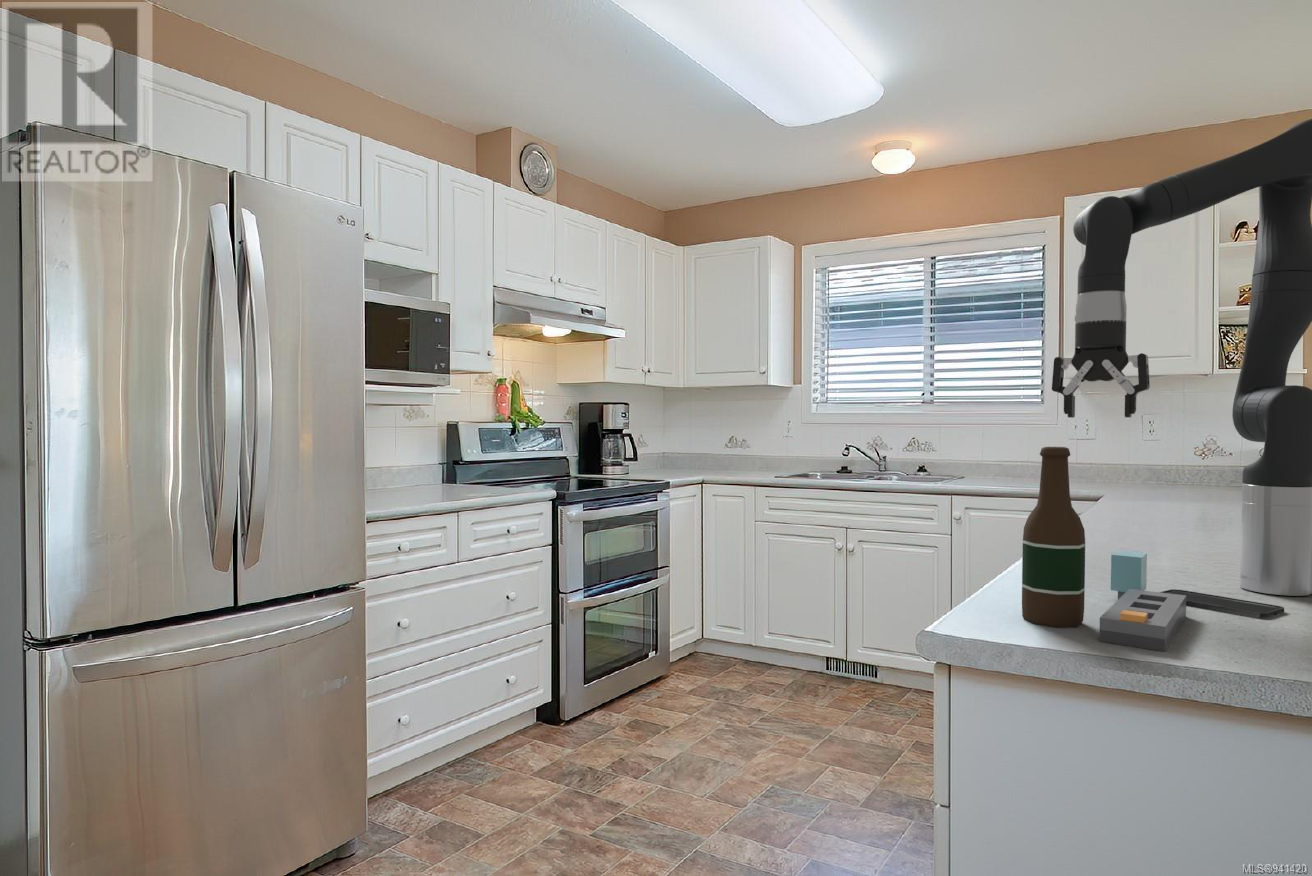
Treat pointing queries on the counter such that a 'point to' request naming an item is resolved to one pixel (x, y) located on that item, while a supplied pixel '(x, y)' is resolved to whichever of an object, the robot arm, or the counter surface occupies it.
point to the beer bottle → (1053, 550)
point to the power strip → (1143, 619)
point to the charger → (1128, 571)
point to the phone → (1228, 604)
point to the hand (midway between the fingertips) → (1098, 417)
